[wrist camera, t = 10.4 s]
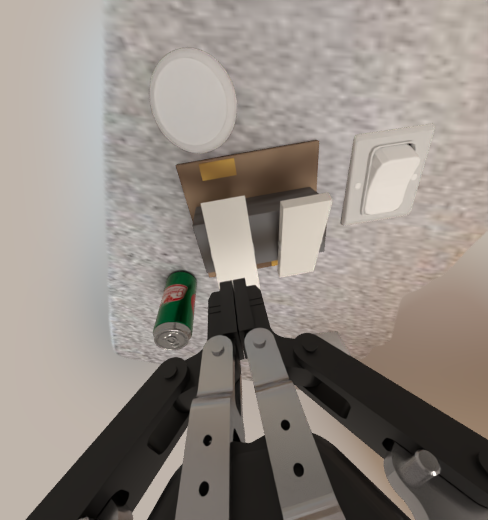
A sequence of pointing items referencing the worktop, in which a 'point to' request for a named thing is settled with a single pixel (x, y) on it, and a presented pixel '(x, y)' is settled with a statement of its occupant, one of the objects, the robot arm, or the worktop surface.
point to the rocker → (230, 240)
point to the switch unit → (251, 192)
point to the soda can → (176, 312)
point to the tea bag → (333, 340)
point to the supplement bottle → (193, 100)
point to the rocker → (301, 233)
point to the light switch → (385, 173)
